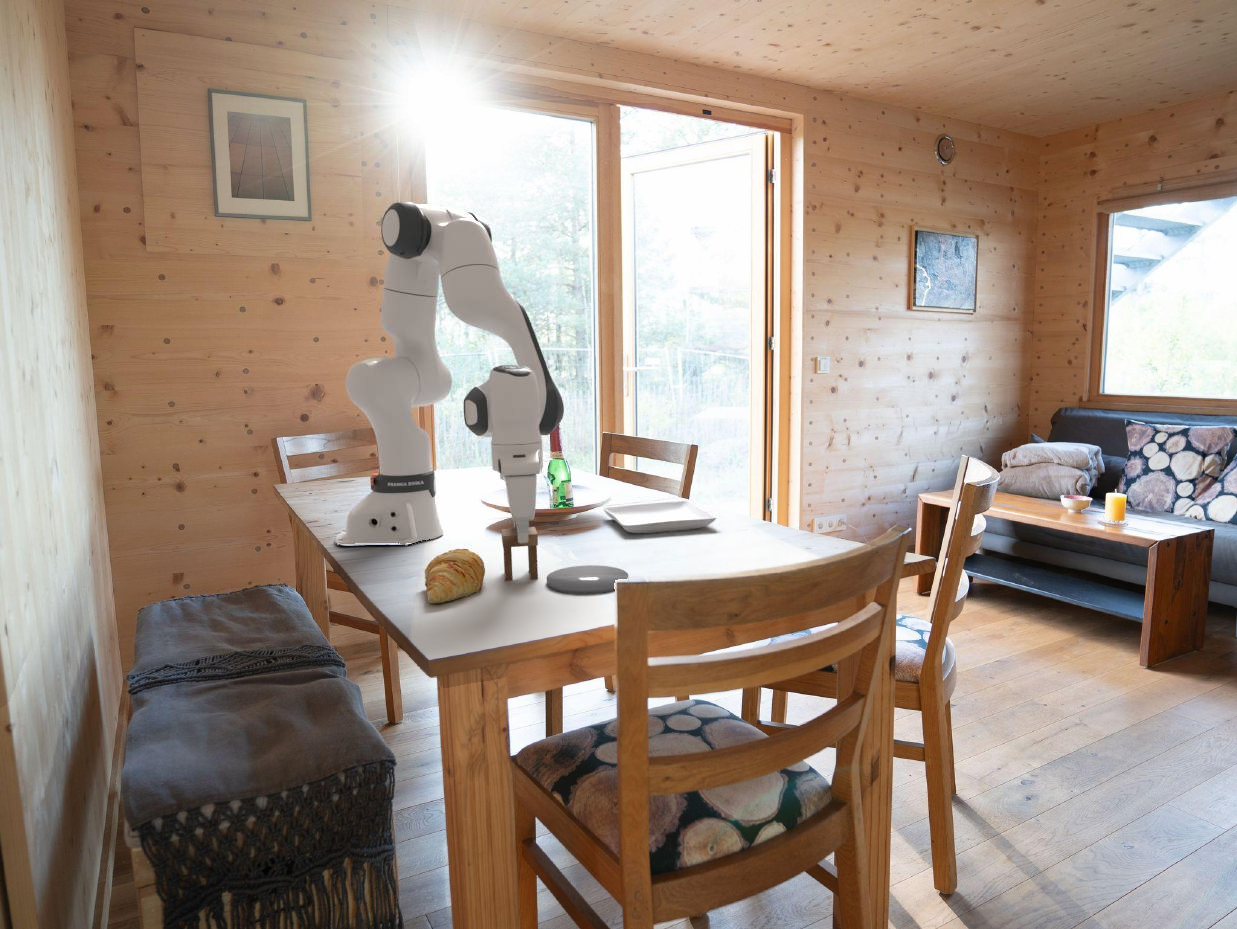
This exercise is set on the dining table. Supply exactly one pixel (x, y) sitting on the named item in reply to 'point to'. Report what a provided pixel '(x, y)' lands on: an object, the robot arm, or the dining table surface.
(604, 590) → the grey flat disc
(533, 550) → the stool
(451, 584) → the croissant
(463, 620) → the dining table surface
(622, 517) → the salad plate
